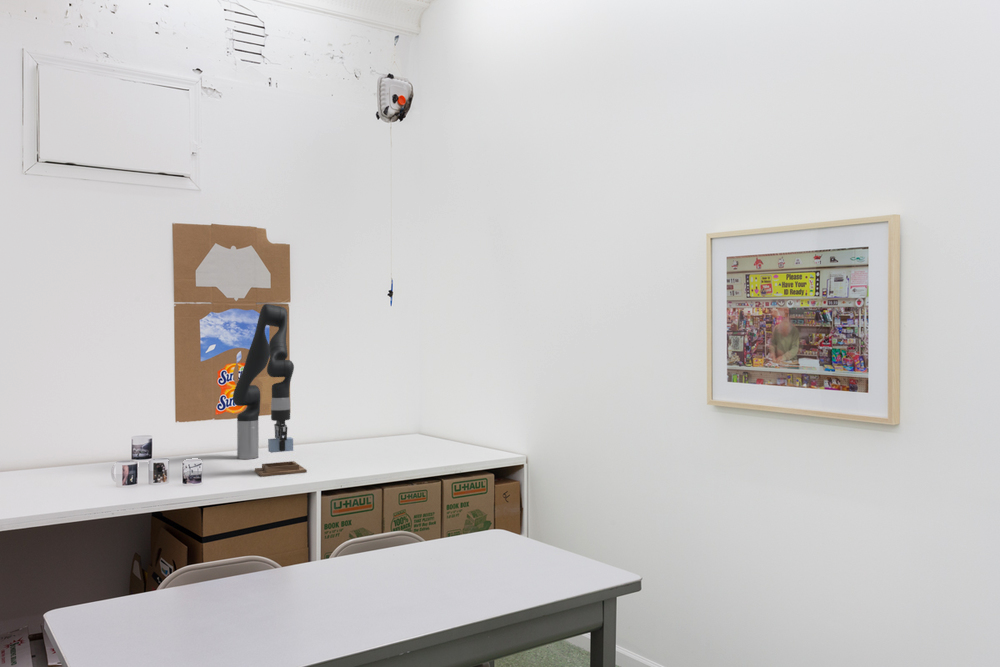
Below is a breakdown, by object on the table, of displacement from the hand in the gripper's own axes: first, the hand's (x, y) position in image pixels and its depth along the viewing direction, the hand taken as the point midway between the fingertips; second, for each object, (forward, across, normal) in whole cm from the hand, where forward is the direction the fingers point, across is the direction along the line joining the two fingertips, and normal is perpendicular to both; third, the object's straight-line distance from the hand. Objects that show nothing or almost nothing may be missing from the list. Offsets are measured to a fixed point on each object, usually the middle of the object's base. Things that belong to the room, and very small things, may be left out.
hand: (280, 449), depth 290 cm
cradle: (+9, 0, 0) cm, 9 cm away
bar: (+1, 0, 0) cm, 1 cm away
